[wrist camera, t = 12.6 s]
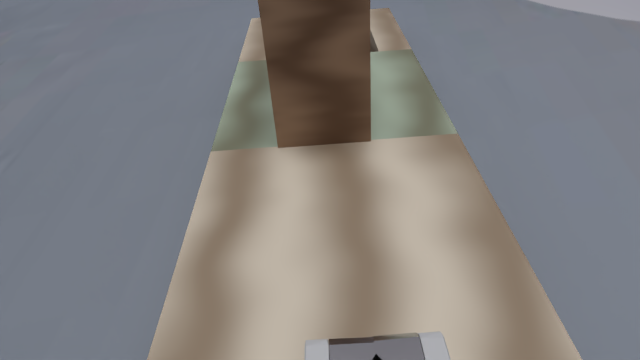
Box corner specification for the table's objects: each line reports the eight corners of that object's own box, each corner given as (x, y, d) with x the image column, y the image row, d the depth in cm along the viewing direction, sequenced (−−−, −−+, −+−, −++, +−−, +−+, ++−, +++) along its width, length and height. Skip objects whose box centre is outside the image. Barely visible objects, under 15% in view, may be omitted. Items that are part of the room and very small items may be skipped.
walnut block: (277, 148, 31) (250, -58, 24) (285, 67, 42) (267, -87, 35) (370, 141, 31) (369, -67, 24) (352, 62, 42) (348, -94, 35)
